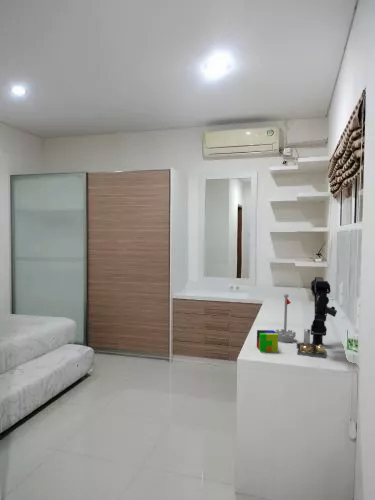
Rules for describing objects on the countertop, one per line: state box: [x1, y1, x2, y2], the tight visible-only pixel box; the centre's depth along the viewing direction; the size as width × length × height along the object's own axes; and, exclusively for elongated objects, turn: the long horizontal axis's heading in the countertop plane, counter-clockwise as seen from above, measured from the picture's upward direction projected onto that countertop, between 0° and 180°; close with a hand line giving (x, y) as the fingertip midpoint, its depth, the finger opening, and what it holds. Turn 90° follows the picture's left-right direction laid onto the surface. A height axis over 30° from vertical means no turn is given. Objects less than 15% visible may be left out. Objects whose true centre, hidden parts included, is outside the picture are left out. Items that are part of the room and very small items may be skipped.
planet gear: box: [300, 328, 314, 352], centre depth 216 cm, size 8×7×12 cm
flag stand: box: [274, 293, 297, 343], centre depth 241 cm, size 13×13×30 cm
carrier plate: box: [296, 342, 327, 359], centre depth 215 cm, size 12×16×5 cm
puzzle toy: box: [256, 329, 279, 353], centre depth 221 cm, size 10×10×10 cm
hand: (320, 329), depth 218 cm, fingers open, 9 cm apart
